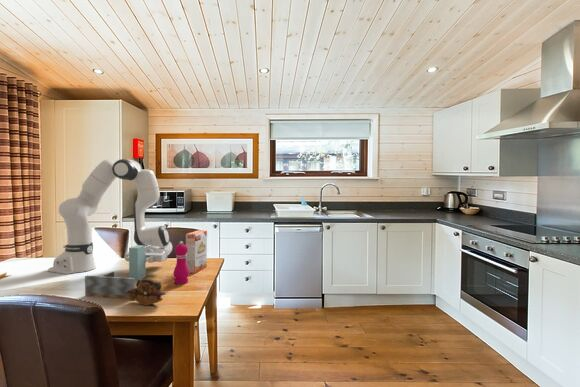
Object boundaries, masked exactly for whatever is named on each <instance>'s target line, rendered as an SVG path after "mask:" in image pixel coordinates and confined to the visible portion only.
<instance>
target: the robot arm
mask: <svg viewBox="0 0 580 387" xmlns="http://www.w3.org/2000/svg"><path fill="white" fill-rule="evenodd" d="M116 179H120V180H125V181H133V182H134V184H135V187H136V191H137V197H136V200H135V202H134V204H133V221H134V222H133V223H134V224H133V225H134V233H133V241H134V243H135V244H136V245H143V246H145V258H144V262H145V263H154V262H155V263H161V262H166V261H167V260H168V256H169V255H170V254H171V252H172V251H173V244H172V242H171V240H170V232H169V230H168V229H167V228H166V227H165V226H164V225H160V226H159V225H158V226H152V227H146V226H145V225H146V224H145V220H146V218H145V213H146V211H147V210H148V209H149V208H150V207H152V206H153V205H155V204H156V203H157V202H158V201H159V199H160V197H161V194H160V193H161V192H160V188H159V184H158V180H157V177H156V175H155V172H154V171H153V170H152V169H148V168H145V169H143V166H142V164H141V163H140V162H139V161H137V160H135V159H129V158H123V159H122V158H121V159H117V160H116V161H113V160H109V159H104V160H102V161H100V162H99V164H98V165H97V166H95V168H93V169H92V171H91V172H90V174H89V175H88V176H87V178H86V179H85V180H84V182H83V183H82V185H81V189H80V190H81V191H80V193H79V194H78V196H77V197H72V198H68V199H66V200H64V201H62V202H61V203H60V204H59V206H58V212H59V213H58V214H59V215H60V216H61V217H62V219H63V221H64V224H65V226H66V231H67V244H65V245H64V246H63V247H62V248H63V249H64V248H65V249H64V251H63V252H62V253H61V254H59V255H58V256H57V257H55V258H54V260H53V264H52V267H50V268H48V269H47V272H50V273H58V274H64V275H68V274H69V275H70V274H73V273H74V274H75V273H82V272H84V273H85V272H88V271H89V272H90V271H92V270H94V269H96V264H95V260H94V255H93V254H94V252H93V249H94V243H93V235H92V234H93V233H92V231H93V229H92V226H90V224H89V221H88V217H89V216H92V215H94V214H95V213H96V212H97V210H98V206H99V203H101V200H102V197H103V196H104V195H105V194H106V192H107V191H108V189H109V188H110V186H111V185H112V183H113V182H114V181H115V180H116ZM124 260H125V261H126V262H129V251H128V252H125V253H124Z"/></svg>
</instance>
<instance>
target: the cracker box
mask: <svg viewBox="0 0 580 387" xmlns="http://www.w3.org/2000/svg"><path fill="white" fill-rule="evenodd" d="M185 245H186V246H187V248H188V251H187V253H186V254H187V255H186V256H187V257H186V264H187V267H188V269H189V274H196V273H198V272H200V271H202V270H204V269H205V268H207V266H208V265H207V260H208V259H207V258H208V254H207V253H208V252H207V251H208V230H201V229H199V230H195V231H192V232H188V233H186V234H185Z"/></svg>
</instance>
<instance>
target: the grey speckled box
mask: <svg viewBox="0 0 580 387" xmlns="http://www.w3.org/2000/svg"><path fill="white" fill-rule="evenodd" d="M136 284H137V281H135V278H129V277H121V276H115V271H112V272H110V273H106V274H104V275H85V276H84V292H85V294H84V296H85V297H90V298H91V297H92V298H93V297H94V298H105V299H107V298H108V299H122V300H130V298H129V296H128V293H127V291H129V290H131V289H133V288H137V286H136Z"/></svg>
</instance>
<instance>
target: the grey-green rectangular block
mask: <svg viewBox="0 0 580 387" xmlns="http://www.w3.org/2000/svg"><path fill="white" fill-rule="evenodd" d="M145 248H146V246H143V245H137V244H136V245H133V246H130V247H128V252H129V261H128V263H129V264H128V267H129V268H128V272H129V273H128V275H129V277H128V278H135V281H138V280H140V279H142V280H144V278H145V279H146V277H147V274H146V266H147V265H146V262H144V258H145Z"/></svg>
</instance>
